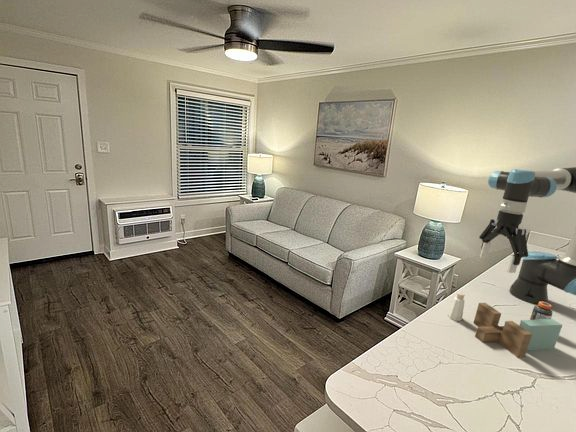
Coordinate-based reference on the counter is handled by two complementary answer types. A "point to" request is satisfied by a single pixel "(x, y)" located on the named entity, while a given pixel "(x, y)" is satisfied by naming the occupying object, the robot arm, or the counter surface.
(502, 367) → the counter surface
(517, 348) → the walnut joint base
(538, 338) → the teal block
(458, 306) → the pepper shaker
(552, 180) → the robot arm
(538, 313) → the pill bottle
